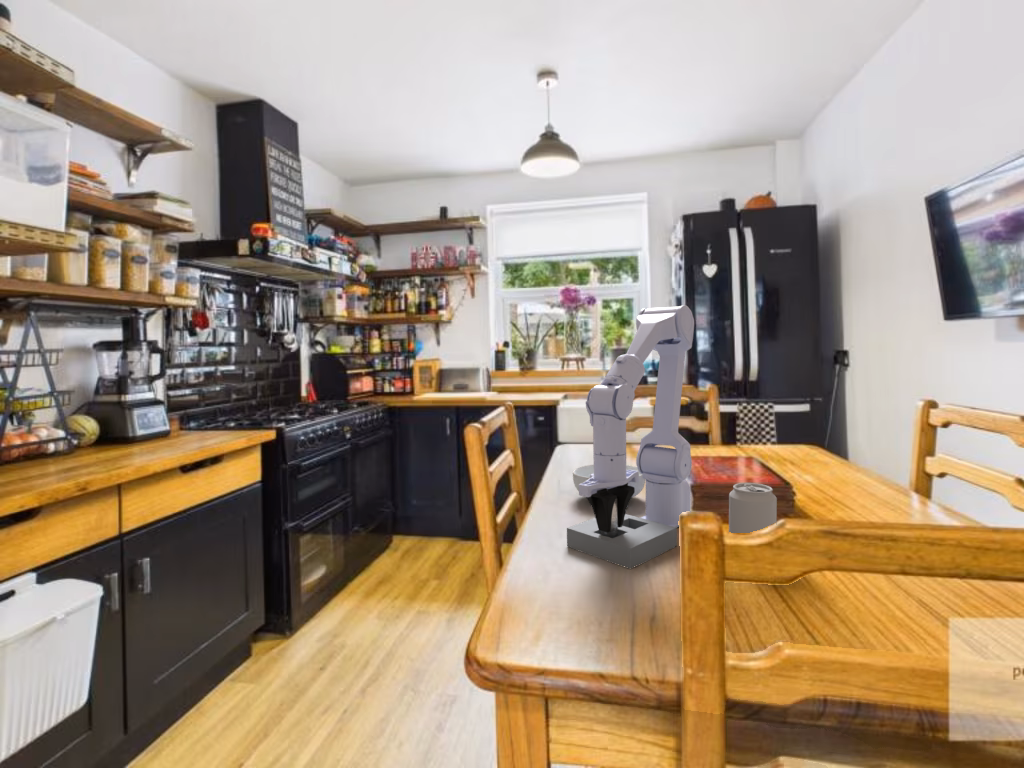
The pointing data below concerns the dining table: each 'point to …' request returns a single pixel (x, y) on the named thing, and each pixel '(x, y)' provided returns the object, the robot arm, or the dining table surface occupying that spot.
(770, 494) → the can
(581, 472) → the cereal bowl
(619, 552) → the hole block
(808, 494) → the dining table surface
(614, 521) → the pin
